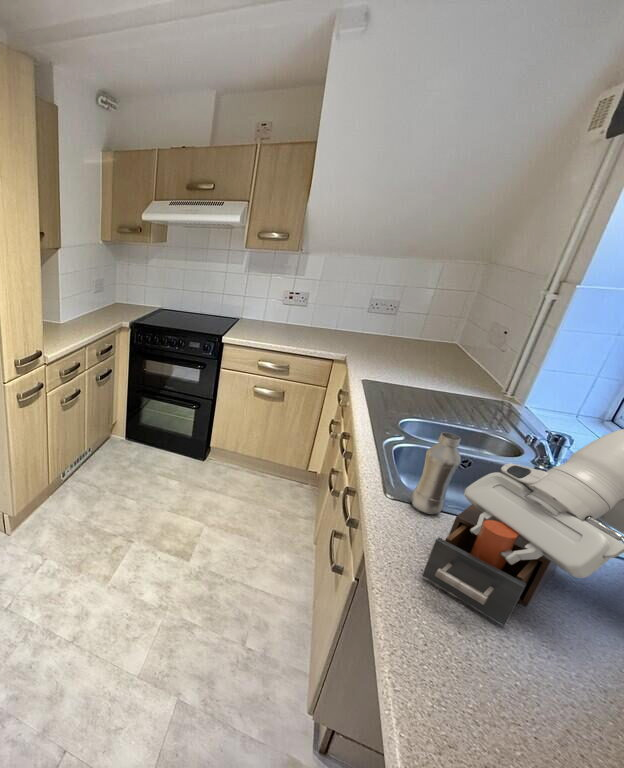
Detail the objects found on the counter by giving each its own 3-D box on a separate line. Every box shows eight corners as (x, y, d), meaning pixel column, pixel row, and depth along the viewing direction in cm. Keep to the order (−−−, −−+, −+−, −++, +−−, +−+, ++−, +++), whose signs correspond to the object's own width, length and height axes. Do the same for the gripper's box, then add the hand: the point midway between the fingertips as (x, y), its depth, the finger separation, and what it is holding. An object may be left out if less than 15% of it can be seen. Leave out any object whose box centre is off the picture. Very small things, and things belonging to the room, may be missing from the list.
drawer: (493, 639, 67) (513, 599, 64) (409, 586, 77) (423, 549, 74) (534, 587, 77) (554, 550, 74) (456, 546, 87) (470, 512, 84)
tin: (503, 571, 75) (522, 531, 72) (493, 582, 72) (512, 541, 69) (472, 555, 78) (489, 516, 75) (462, 564, 76) (478, 525, 73)
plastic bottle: (439, 506, 101) (466, 434, 94) (442, 521, 96) (471, 446, 88) (407, 497, 104) (431, 426, 97) (409, 511, 99) (434, 438, 91)
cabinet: (526, 607, 74) (550, 561, 70) (439, 558, 85) (456, 516, 81) (555, 570, 82) (578, 527, 79) (472, 529, 93) (489, 490, 89)
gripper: (644, 554, 62) (557, 605, 65) (512, 477, 81) (450, 519, 84) (631, 532, 60) (542, 585, 63) (499, 458, 79) (436, 501, 82)
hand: (488, 546), depth 74 cm, fingers closed on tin, 4 cm apart
